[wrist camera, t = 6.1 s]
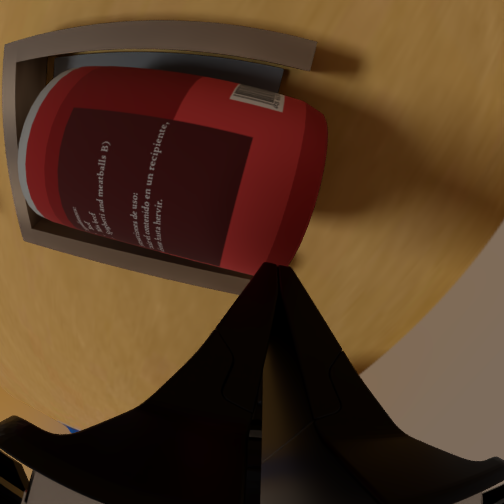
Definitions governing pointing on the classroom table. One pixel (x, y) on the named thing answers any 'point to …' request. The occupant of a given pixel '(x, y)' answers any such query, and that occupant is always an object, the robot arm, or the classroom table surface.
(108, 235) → the canned food
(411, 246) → the classroom table surface
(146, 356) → the classroom table surface
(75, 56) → the mat
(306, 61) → the cradle
